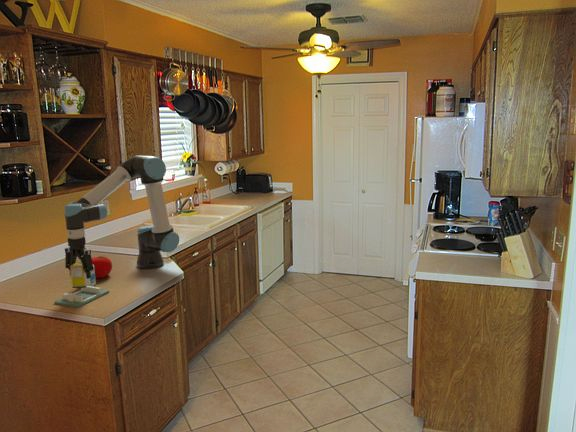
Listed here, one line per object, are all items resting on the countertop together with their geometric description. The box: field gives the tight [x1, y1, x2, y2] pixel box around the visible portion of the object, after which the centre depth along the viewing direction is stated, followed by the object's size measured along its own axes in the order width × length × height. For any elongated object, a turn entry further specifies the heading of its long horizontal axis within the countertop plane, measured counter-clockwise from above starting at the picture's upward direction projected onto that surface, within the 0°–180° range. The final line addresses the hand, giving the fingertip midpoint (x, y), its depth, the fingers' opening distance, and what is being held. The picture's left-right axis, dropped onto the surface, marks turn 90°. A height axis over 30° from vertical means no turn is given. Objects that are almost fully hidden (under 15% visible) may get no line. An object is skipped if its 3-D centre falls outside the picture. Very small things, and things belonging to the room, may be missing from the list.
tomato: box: [91, 255, 113, 279], centre depth 252 cm, size 12×14×11 cm
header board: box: [54, 285, 110, 309], centre depth 223 cm, size 20×14×5 cm
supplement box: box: [69, 261, 88, 289], centre depth 221 cm, size 6×6×11 cm
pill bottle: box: [87, 265, 97, 287], centre depth 239 cm, size 8×7×14 cm
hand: (81, 283), depth 222 cm, fingers closed on supplement box, 7 cm apart
